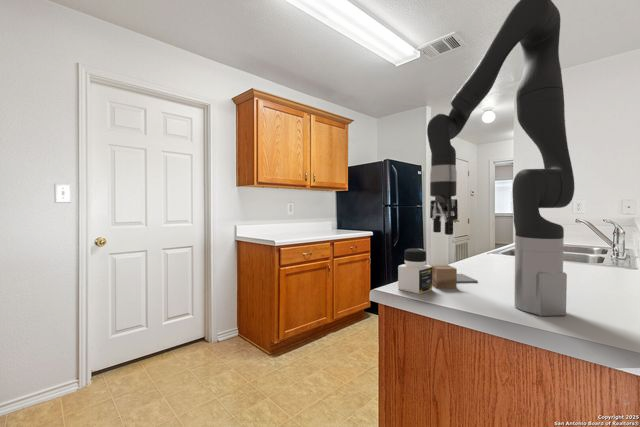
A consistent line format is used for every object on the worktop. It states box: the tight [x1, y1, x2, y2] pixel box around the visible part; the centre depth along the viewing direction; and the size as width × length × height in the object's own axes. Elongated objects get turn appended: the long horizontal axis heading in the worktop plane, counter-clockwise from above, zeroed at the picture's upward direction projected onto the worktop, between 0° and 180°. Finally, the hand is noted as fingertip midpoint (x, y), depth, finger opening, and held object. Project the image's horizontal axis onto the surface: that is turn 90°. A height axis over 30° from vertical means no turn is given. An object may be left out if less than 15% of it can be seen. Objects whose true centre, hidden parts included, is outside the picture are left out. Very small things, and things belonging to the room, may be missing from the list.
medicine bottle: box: [397, 248, 433, 295], centre depth 88 cm, size 7×7×12 cm
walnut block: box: [429, 264, 458, 289], centre depth 92 cm, size 6×6×6 cm
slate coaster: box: [457, 273, 479, 284], centre depth 101 cm, size 10×10×1 cm
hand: (442, 233), depth 92 cm, fingers open, 8 cm apart
